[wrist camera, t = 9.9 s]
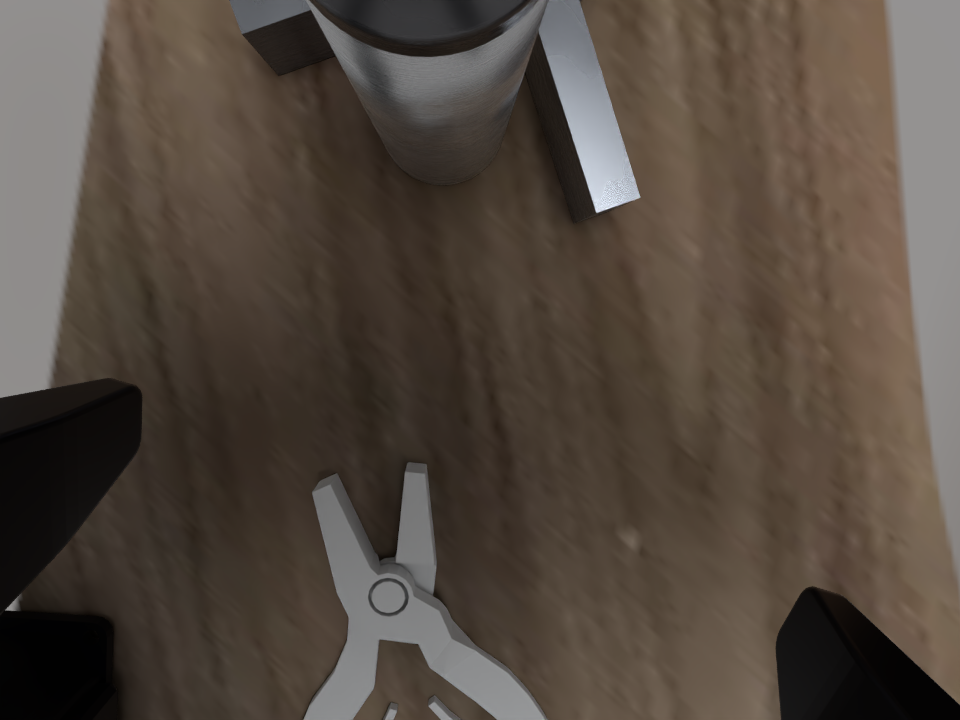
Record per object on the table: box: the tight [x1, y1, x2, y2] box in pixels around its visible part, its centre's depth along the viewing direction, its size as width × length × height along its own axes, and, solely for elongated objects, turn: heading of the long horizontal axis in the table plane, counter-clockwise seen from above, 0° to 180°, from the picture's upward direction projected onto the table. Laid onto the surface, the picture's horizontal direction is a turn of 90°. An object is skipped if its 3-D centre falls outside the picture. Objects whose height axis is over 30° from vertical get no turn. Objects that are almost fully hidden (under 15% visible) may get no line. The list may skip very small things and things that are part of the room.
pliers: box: [303, 462, 547, 720], centre depth 22 cm, size 10×2×15 cm
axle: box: [306, 0, 548, 185], centre depth 14 cm, size 4×4×13 cm
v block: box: [229, 0, 640, 224], centre depth 19 cm, size 7×12×4 cm, turn 64°
